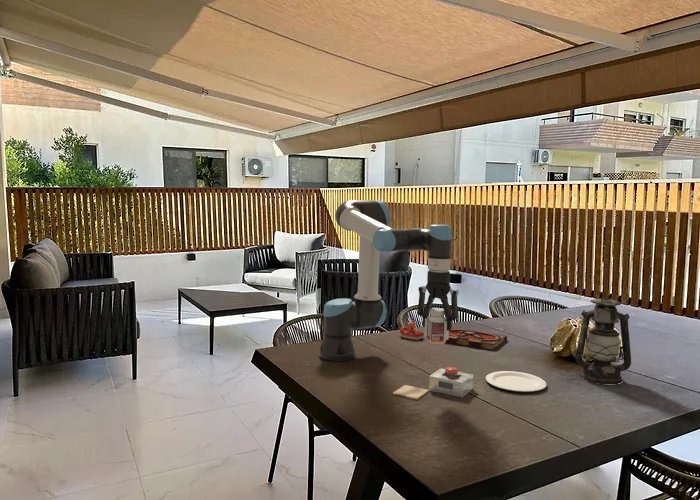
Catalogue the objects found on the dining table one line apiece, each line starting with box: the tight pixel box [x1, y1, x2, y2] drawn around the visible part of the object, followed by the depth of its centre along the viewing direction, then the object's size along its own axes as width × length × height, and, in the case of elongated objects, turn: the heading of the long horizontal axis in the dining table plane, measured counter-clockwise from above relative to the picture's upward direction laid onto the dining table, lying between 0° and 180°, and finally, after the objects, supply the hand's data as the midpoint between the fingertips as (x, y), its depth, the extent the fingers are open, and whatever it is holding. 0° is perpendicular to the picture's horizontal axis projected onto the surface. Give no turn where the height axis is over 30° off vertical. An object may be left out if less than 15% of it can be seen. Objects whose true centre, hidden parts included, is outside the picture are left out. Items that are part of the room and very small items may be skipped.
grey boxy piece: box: [428, 367, 474, 398], centre depth 180 cm, size 12×10×5 cm
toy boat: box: [399, 321, 425, 341], centre depth 247 cm, size 8×12×8 cm, turn 56°
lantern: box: [574, 298, 632, 385], centre depth 189 cm, size 19×19×30 cm
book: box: [444, 327, 508, 351], centre depth 243 cm, size 28×21×5 cm
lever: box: [444, 366, 459, 378], centre depth 180 cm, size 4×4×6 cm
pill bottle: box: [427, 307, 446, 345], centre depth 177 cm, size 6×6×11 cm
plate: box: [485, 370, 548, 393], centre depth 186 cm, size 21×21×2 cm
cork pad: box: [392, 384, 430, 401], centre depth 176 cm, size 9×9×1 cm
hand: (436, 337), depth 177 cm, fingers closed on pill bottle, 6 cm apart
